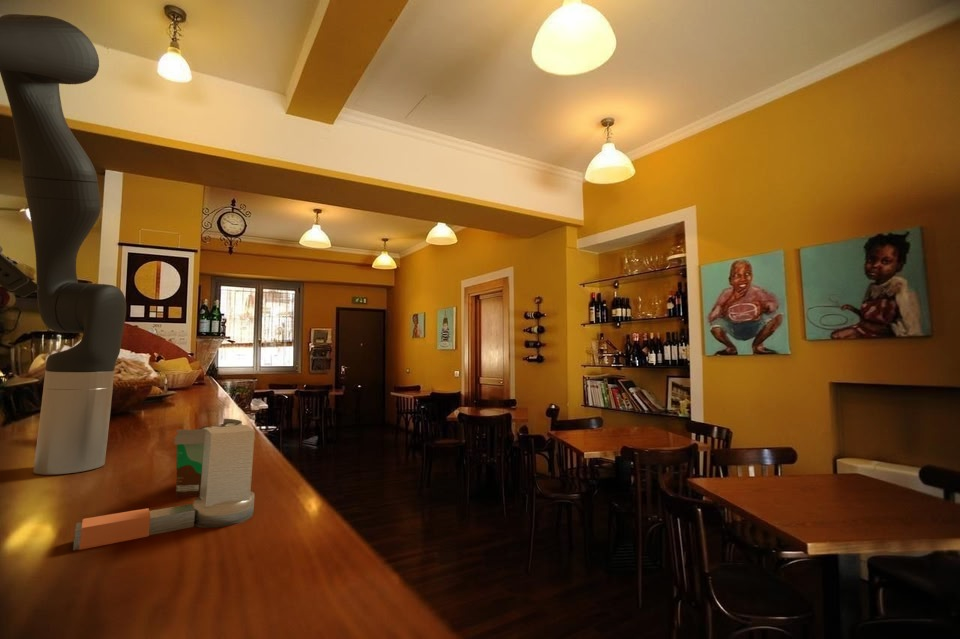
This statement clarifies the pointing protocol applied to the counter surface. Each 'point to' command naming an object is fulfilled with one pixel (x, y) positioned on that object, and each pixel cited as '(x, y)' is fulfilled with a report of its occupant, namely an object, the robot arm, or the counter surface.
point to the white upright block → (227, 465)
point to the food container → (192, 458)
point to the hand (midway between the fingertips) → (26, 289)
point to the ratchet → (158, 522)
